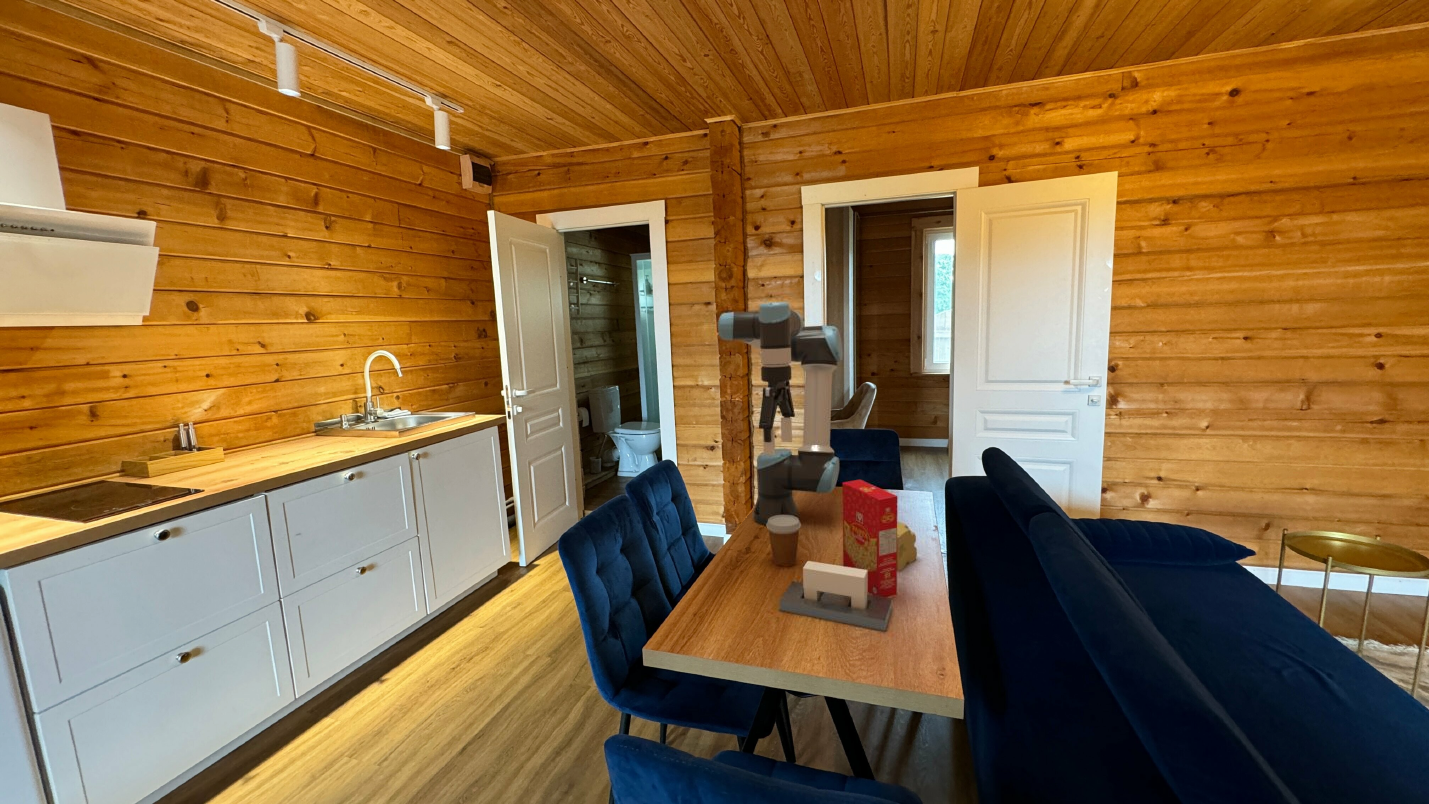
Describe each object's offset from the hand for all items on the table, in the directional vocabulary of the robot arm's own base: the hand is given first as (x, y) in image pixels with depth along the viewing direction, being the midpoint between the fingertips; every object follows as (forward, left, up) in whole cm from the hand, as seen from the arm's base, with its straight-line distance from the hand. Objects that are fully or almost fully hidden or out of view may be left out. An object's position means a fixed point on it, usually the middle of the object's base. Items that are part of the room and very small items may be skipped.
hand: (778, 447), depth 142 cm
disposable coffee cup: (-8, -2, -35) cm, 36 cm away
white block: (+12, +17, -35) cm, 40 cm away
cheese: (-18, +25, -35) cm, 47 cm away
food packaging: (-3, +22, -35) cm, 41 cm away
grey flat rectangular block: (+12, +17, -35) cm, 40 cm away
